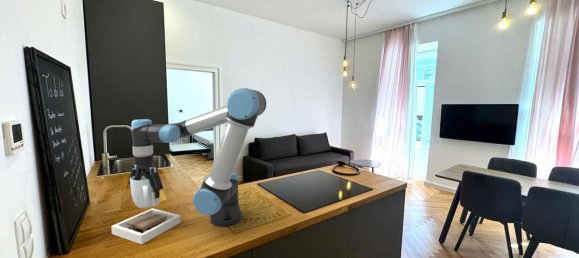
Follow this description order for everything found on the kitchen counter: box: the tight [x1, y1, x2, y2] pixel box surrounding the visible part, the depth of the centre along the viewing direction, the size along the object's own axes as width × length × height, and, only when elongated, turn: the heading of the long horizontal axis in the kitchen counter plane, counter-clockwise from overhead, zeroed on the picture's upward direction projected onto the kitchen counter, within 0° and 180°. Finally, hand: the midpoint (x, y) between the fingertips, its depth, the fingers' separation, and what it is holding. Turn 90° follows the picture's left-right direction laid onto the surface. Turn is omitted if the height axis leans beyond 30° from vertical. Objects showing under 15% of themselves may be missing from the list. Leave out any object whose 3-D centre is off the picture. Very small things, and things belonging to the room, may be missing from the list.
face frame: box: [110, 207, 182, 245], centre depth 105 cm, size 19×19×4 cm
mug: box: [129, 174, 156, 209], centre depth 103 cm, size 15×11×13 cm
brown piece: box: [127, 212, 167, 233], centre depth 105 cm, size 11×11×4 cm
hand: (146, 202), depth 104 cm, fingers closed on mug, 12 cm apart
